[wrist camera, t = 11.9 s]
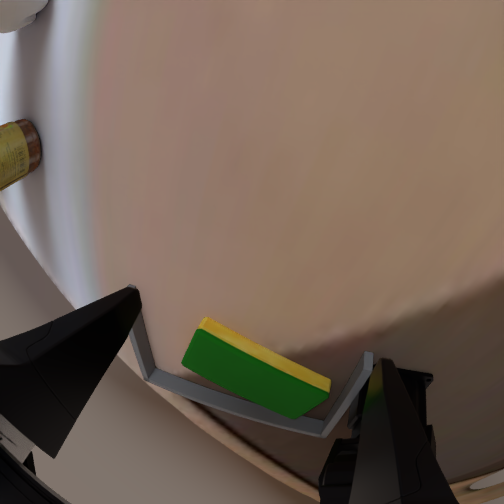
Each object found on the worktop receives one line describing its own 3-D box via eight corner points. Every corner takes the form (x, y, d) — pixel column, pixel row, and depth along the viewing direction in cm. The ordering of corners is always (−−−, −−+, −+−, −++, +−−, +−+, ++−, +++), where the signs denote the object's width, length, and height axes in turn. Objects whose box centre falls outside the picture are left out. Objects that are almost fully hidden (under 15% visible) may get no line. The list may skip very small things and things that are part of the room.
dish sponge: (298, 403, 32) (293, 421, 30) (189, 348, 32) (179, 365, 30) (333, 377, 28) (330, 397, 26) (207, 312, 28) (196, 330, 26)
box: (373, 352, 24) (372, 371, 22) (328, 424, 32) (325, 438, 30) (129, 283, 29) (117, 296, 27) (151, 369, 37) (144, 379, 35)
